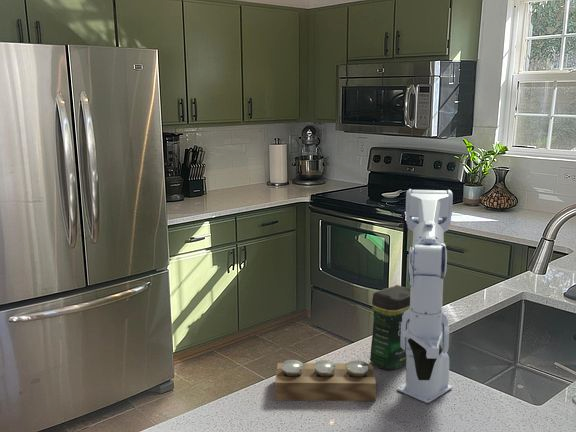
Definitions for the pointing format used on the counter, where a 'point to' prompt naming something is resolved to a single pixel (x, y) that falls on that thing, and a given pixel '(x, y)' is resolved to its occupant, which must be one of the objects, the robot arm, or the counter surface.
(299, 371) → the knob
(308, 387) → the block
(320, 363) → the middle knob
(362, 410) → the counter surface
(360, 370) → the knob
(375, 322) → the coffee jar
